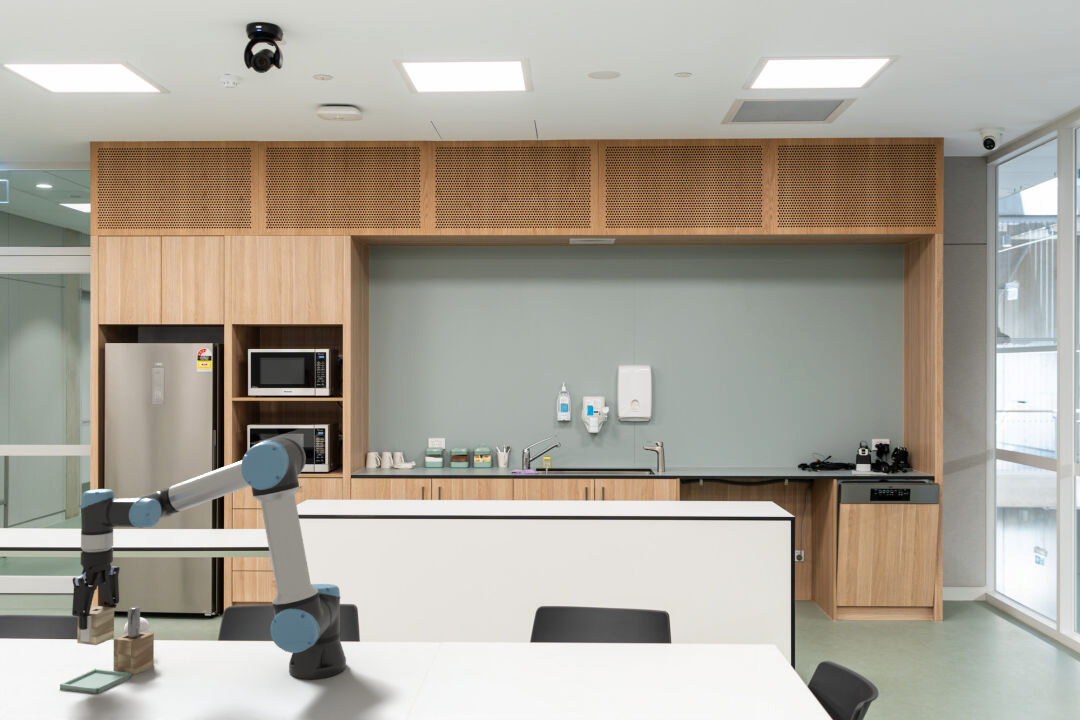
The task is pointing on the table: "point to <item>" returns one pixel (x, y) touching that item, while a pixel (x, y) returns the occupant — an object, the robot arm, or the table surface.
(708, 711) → the table surface
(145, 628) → the light bulb
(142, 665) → the wide-bore block
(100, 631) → the narrow-bore block
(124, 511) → the robot arm
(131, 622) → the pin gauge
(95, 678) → the tray
